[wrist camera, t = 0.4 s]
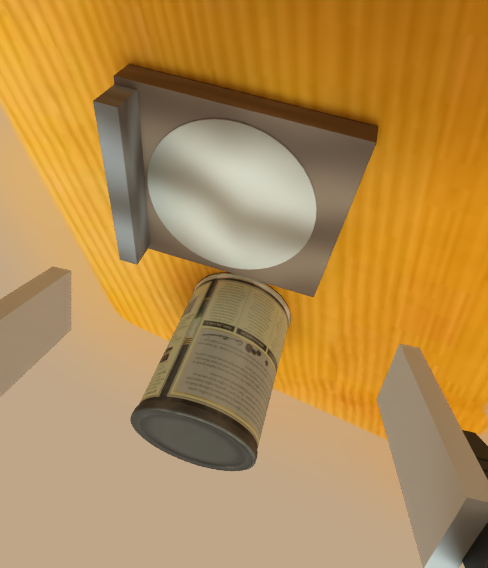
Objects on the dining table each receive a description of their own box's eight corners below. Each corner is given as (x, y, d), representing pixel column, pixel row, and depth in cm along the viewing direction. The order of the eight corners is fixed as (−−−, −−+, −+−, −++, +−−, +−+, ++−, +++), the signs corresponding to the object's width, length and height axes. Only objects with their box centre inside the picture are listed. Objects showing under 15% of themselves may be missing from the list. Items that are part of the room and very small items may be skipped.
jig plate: (128, 64, 25) (91, 92, 22) (378, 126, 23) (373, 165, 21) (144, 229, 36) (120, 263, 33) (317, 280, 34) (308, 320, 31)
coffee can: (283, 349, 43) (248, 483, 34) (194, 324, 44) (137, 446, 35) (301, 288, 35) (263, 440, 26) (193, 259, 37) (120, 394, 27)
